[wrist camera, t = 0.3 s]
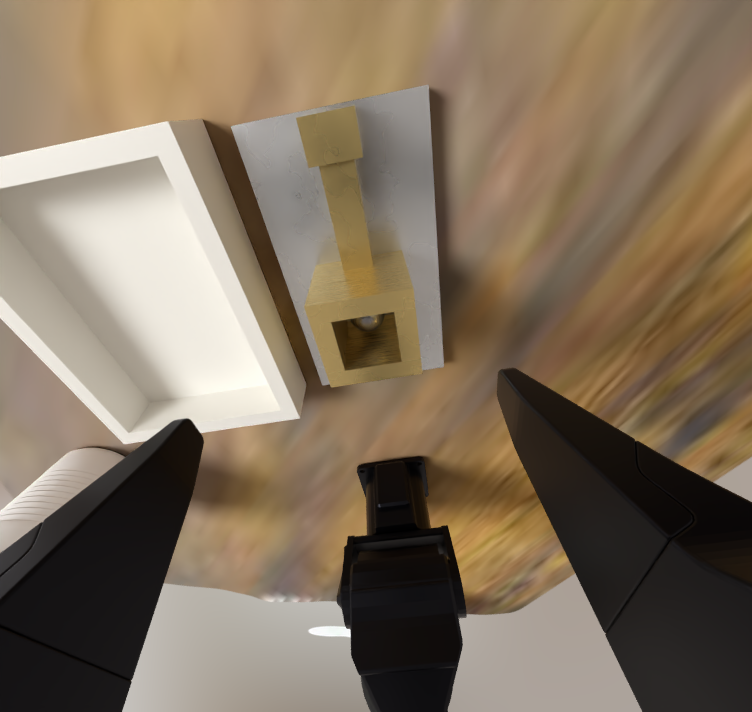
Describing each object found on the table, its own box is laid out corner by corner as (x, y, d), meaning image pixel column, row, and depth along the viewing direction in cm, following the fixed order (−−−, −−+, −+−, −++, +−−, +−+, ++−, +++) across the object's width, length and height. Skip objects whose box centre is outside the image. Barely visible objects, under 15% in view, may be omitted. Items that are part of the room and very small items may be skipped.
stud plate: (441, 358, 25) (453, 396, 21) (323, 376, 25) (318, 416, 22) (424, 86, 15) (442, 79, 12) (237, 125, 16) (205, 129, 13)
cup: (16, 429, 27) (-147, 581, 19) (142, 431, 28) (42, 578, 19) (73, 495, 33) (-30, 634, 24) (176, 495, 34) (111, 630, 25)
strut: (410, 324, 22) (422, 373, 18) (336, 336, 22) (330, 387, 18) (383, 99, 15) (392, 96, 11) (274, 122, 15) (243, 127, 11)
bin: (306, 384, 26) (299, 418, 23) (149, 408, 27) (124, 444, 24) (202, 119, 16) (167, 120, 13) (-47, 172, 16) (-131, 184, 14)
